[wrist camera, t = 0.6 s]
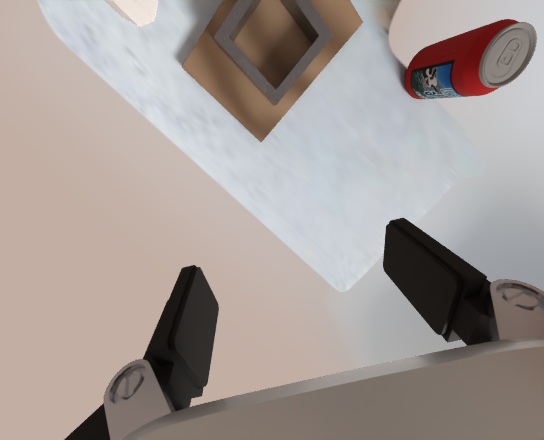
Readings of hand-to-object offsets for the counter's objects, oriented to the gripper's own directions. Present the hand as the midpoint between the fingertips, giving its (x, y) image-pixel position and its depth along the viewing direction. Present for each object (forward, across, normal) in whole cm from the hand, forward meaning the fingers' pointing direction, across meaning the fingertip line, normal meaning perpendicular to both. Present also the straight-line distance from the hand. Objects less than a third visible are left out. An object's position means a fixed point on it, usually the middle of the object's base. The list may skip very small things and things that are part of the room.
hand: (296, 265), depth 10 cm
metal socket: (+27, -4, -14) cm, 30 cm away
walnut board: (+28, -4, -14) cm, 32 cm away
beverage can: (+28, -27, -6) cm, 39 cm away
